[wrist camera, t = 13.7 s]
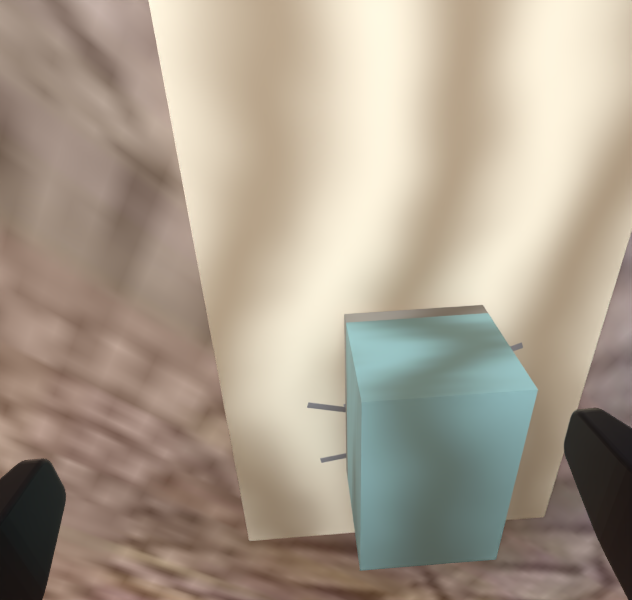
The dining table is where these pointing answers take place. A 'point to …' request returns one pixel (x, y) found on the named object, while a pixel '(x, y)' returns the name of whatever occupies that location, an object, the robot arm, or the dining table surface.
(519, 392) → the block
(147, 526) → the dining table surface
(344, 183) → the board
